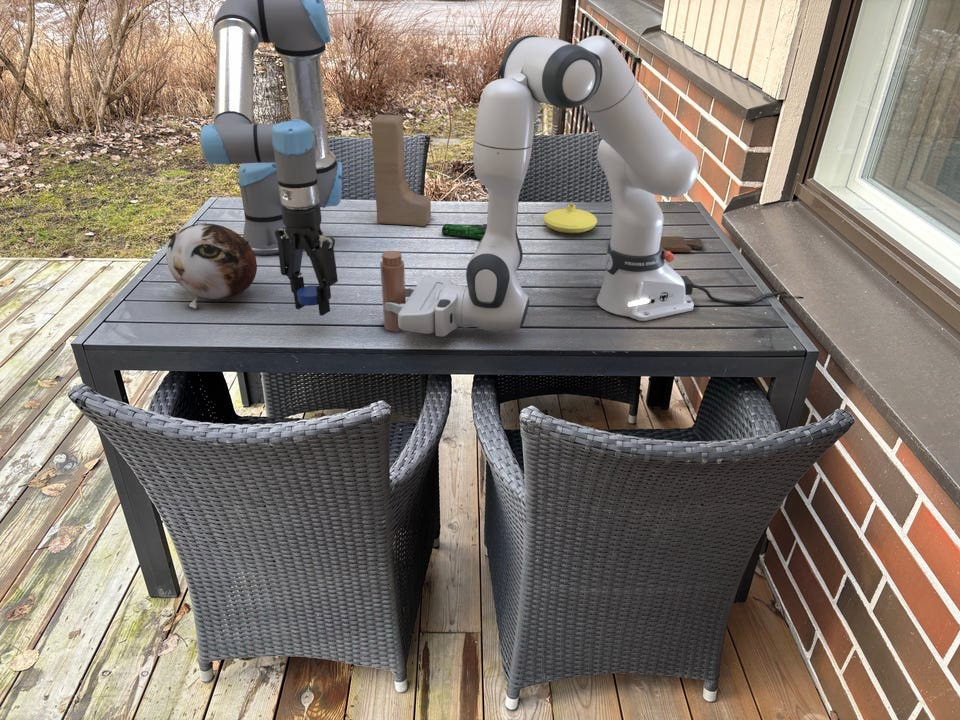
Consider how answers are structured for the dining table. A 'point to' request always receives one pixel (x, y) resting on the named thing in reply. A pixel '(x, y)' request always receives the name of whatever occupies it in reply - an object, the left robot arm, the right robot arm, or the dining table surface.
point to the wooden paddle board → (679, 244)
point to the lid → (307, 295)
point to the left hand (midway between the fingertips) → (312, 309)
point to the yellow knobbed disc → (570, 220)
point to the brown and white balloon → (211, 261)
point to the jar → (392, 286)
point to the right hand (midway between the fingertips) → (390, 299)
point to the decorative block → (394, 176)
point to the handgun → (465, 230)
